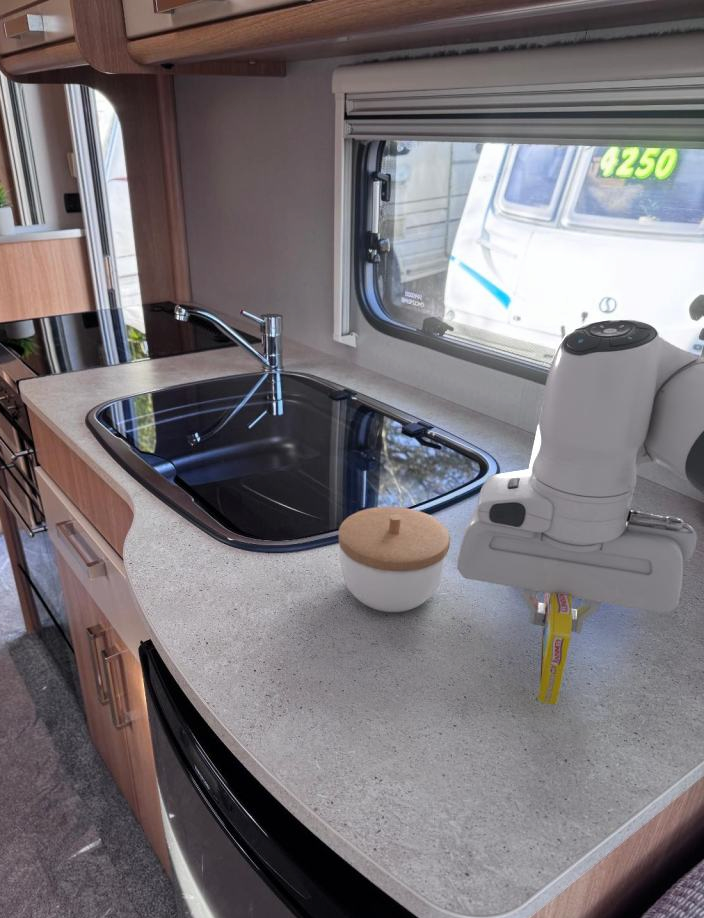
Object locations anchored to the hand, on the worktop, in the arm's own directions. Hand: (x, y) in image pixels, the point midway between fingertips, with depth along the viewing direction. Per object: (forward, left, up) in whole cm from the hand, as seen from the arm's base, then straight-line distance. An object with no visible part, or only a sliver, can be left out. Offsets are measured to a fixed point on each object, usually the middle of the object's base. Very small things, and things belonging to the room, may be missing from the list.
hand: (554, 625), depth 72 cm
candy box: (0, 0, -3) cm, 3 cm away
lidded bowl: (+18, -7, -6) cm, 21 cm away
